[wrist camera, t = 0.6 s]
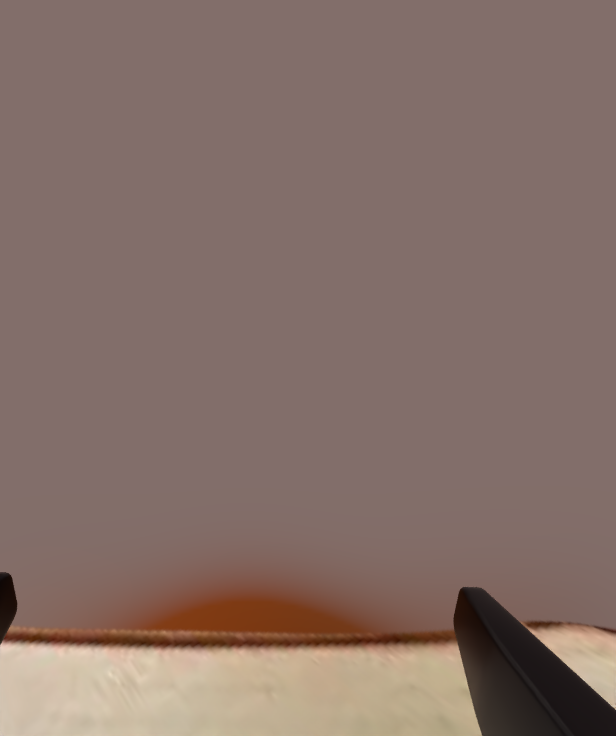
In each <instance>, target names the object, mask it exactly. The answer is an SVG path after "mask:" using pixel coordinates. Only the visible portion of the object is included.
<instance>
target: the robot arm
mask: <svg viewBox="0 0 616 736" xmlns="http://www.w3.org/2000/svg"><path fill="white" fill-rule="evenodd" d="M16 611H17V600H16V595H15V590H14V585H13V580H12V577H11V575H10V574H9V573H6V572H0V645H1V643H2V641H3V639H4V637H5V635H6V633H7V631H8V629H9V627H10V625H11V623H12V621H13V619H14V617H15V614H16ZM454 630H455V634H456V638H457V642H458V646H459V650H460V654H461V658H462V662H463V666H464V670H465V674H466V678H467V682H468V686H469V690H470V695H471V699H472V703H473V706H474V710H475V714H476V717H477V720H478V724H479V727H480V730H481V733H482V736H616V710H615V709H614V708H613V707H612V706H611V705H610V704H609V703H608V702H606V701H605V700H604V699H603V698H602V697H601V696H600V695H599V694H598V693H597V692H595V691H594V690H593V689H592V688H591V687H590V686H589V685H588V684H587V683H586V682H585V681H583V680H582V679H581V678H580V677H579V676H578V675H577V674H576V673H575V672H574V671H573V670H571V669H570V668H569V667H568V666H567V665H566V664H565V663H564V662H563V661H562V660H560V659H559V658H558V657H557V656H556V655H555V654H554V653H553V652H552V651H551V650H550V649H548V648H547V647H546V646H545V645H544V644H543V643H542V642H541V641H540V640H539V639H537V638H536V637H535V636H534V635H533V634H532V633H531V632H530V631H529V630H528V629H527V628H525V627H524V626H523V625H522V624H521V623H520V622H519V621H518V620H517V619H516V618H515V617H513V616H512V615H511V614H510V613H509V612H508V611H507V610H506V609H505V608H504V607H502V606H501V605H500V604H499V603H498V602H497V601H496V600H495V599H494V598H493V597H491V596H490V595H489V594H488V593H487V592H486V591H485V590H483V589H482V588H477V587H463V588H461V589H460V591H459V595H458V600H457V604H456V609H455V614H454Z"/></svg>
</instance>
